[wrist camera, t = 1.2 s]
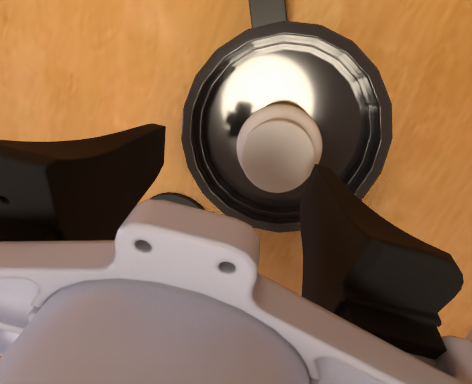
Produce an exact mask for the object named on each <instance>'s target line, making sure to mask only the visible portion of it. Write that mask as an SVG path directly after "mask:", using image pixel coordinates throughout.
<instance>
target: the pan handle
mask: <svg viewBox="0 0 472 384" xmlns="http://www.w3.org/2000/svg"><path fill="white" fill-rule="evenodd" d="M249 7H250V15H251V24H252V28H255V27H259V26H263V25H267V24H271V23H275V22H279V21H287V13H286V1H285V0H249Z"/></svg>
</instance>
